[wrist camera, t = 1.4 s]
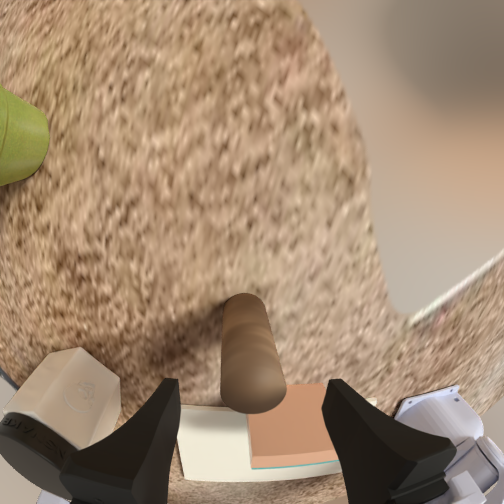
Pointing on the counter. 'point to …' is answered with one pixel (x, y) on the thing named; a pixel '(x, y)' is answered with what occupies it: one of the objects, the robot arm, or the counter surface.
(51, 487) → the jar
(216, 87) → the counter surface
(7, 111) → the plant pot
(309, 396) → the tile
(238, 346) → the pestle
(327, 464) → the board
